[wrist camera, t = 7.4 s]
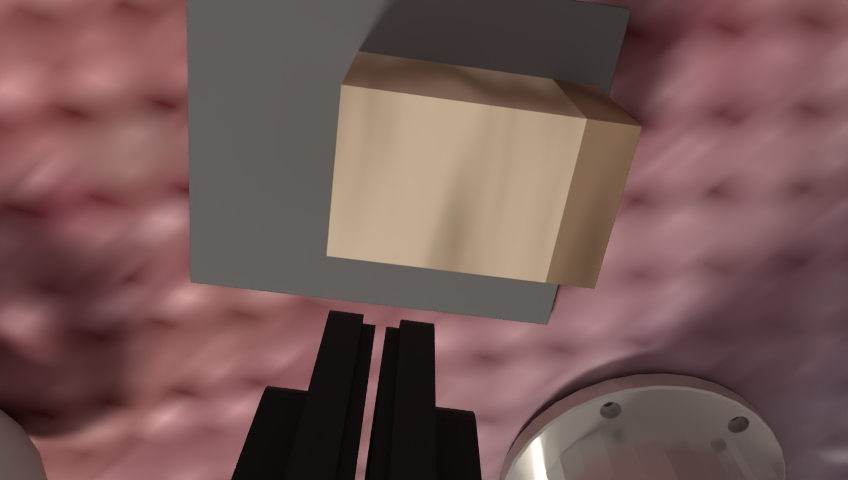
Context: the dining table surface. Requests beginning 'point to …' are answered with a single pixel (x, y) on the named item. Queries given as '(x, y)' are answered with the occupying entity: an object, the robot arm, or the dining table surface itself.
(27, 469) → the donut
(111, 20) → the dining table surface
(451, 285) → the mat
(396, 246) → the tall block
